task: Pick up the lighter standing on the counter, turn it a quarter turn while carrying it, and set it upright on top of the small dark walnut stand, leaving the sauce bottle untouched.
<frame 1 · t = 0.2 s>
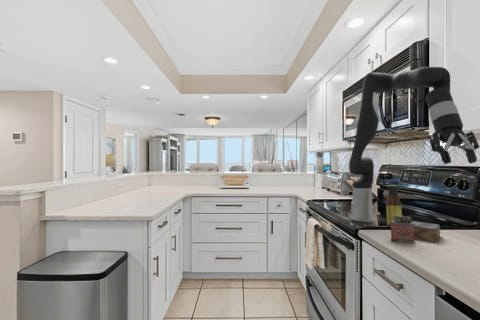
hand: (460, 162, 85), 31 cm above the worktop, tool tilted 20°, fingers open, 8 cm apart
lighter: (402, 241, 104), on the worktop
walnut stand: (423, 237, 110), on the worktop
sauce bottle: (394, 227, 126), on the worktop
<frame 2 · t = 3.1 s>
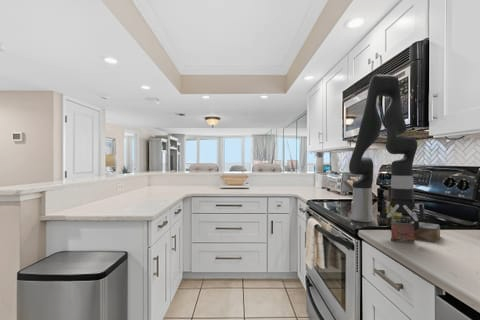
hand: (402, 228, 104), 5 cm above the worktop, tool pointing down, fingers open, 8 cm apart
nothing on the worktop moved.
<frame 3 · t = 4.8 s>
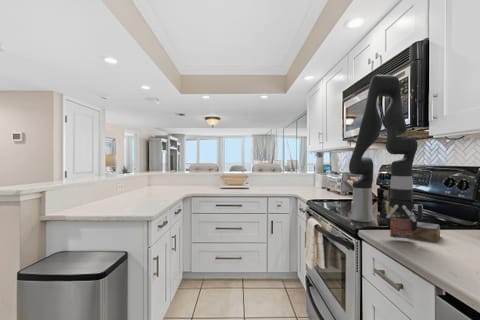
hand: (401, 229, 105), 5 cm above the worktop, tool pointing down, fingers closed on lighter, 7 cm apart
lighter: (401, 237, 105), point 1 cm above the worktop, touching gripper
everything else where it was.
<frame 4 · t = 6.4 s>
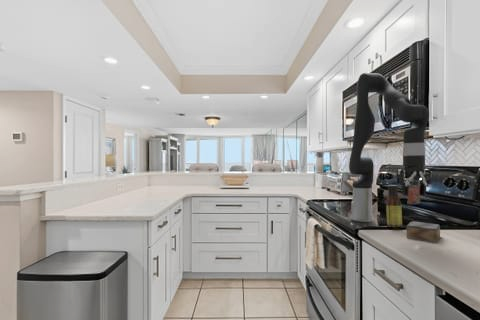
hand: (413, 195, 108), 18 cm above the worktop, tool pointing down, fingers closed on lighter, 7 cm apart
lighter: (413, 203, 108), point 14 cm above the worktop, touching gripper
everything else where it was.
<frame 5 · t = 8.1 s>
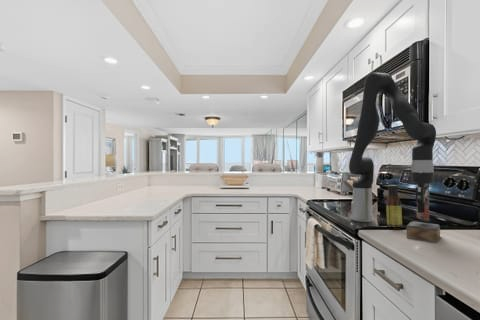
hand: (422, 211, 110), 11 cm above the worktop, tool pointing down, fingers closed on lighter, 7 cm apart
lighter: (422, 219, 110), point 7 cm above the worktop, touching gripper
everything else where it was.
when the fingers open (9 cm above the worktop, at t = 9.1 s): lighter drops 1 cm, resting on walnut stand.
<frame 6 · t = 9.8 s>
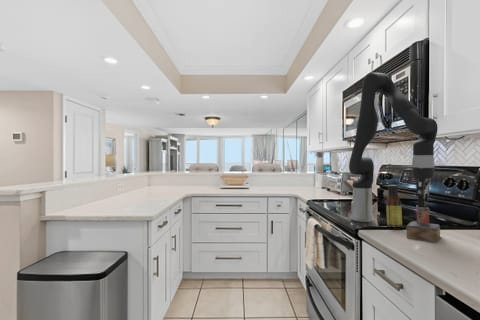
hand: (422, 205, 110), 13 cm above the worktop, tool pointing down, fingers open, 8 cm apart
lighter: (422, 225, 110), point 5 cm above the worktop, touching walnut stand
everything else where it was.
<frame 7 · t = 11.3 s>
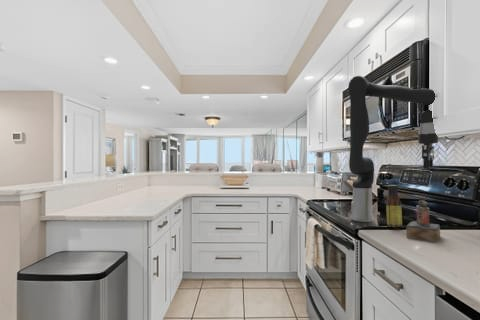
hand: (428, 168, 125), 28 cm above the worktop, tool pointing down, fingers open, 8 cm apart
nothing on the worktop moved.
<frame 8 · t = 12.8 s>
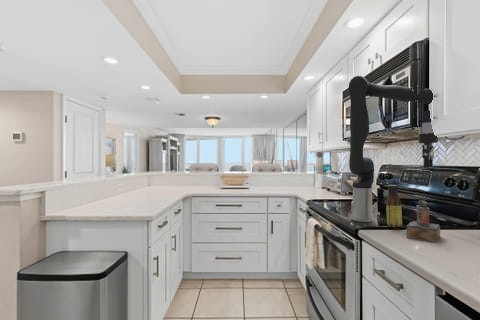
hand: (428, 167, 126), 28 cm above the worktop, tool pointing down, fingers open, 8 cm apart
nothing on the worktop moved.
at the end: lighter inside the target area on the walnut stand (0.1 cm from its centre), point 4.8 cm above the walnut stand's base; lighter tilted 0°; the gripper is holding nothing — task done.
